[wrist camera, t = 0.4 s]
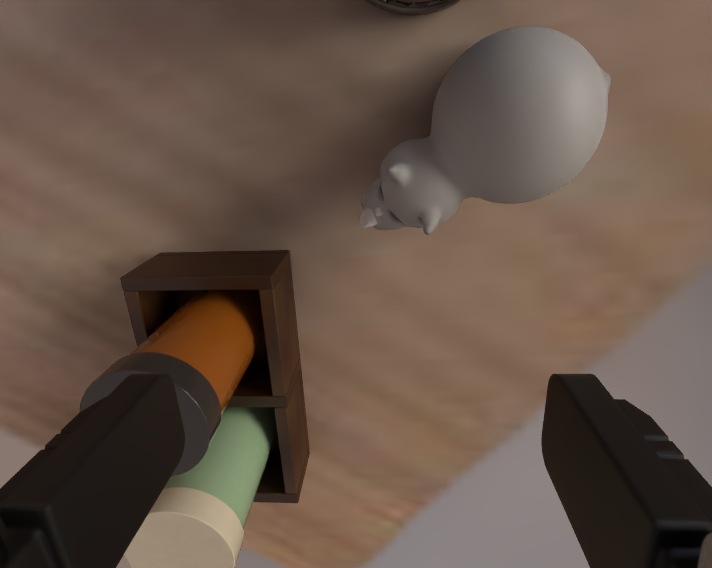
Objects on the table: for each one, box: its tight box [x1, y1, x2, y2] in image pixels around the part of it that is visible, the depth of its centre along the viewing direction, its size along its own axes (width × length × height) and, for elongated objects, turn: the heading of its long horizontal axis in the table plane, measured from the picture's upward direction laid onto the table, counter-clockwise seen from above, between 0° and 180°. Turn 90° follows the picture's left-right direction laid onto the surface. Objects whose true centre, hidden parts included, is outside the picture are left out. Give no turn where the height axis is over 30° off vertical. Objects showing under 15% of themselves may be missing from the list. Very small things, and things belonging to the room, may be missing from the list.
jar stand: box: [120, 250, 310, 503], centre depth 29 cm, size 16×8×5 cm, turn 2°
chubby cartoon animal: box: [359, 26, 611, 235], centre depth 21 cm, size 7×12×8 cm, turn 124°
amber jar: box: [80, 289, 265, 477], centre depth 24 cm, size 6×6×11 cm
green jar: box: [124, 407, 277, 568], centre depth 27 cm, size 6×6×11 cm
